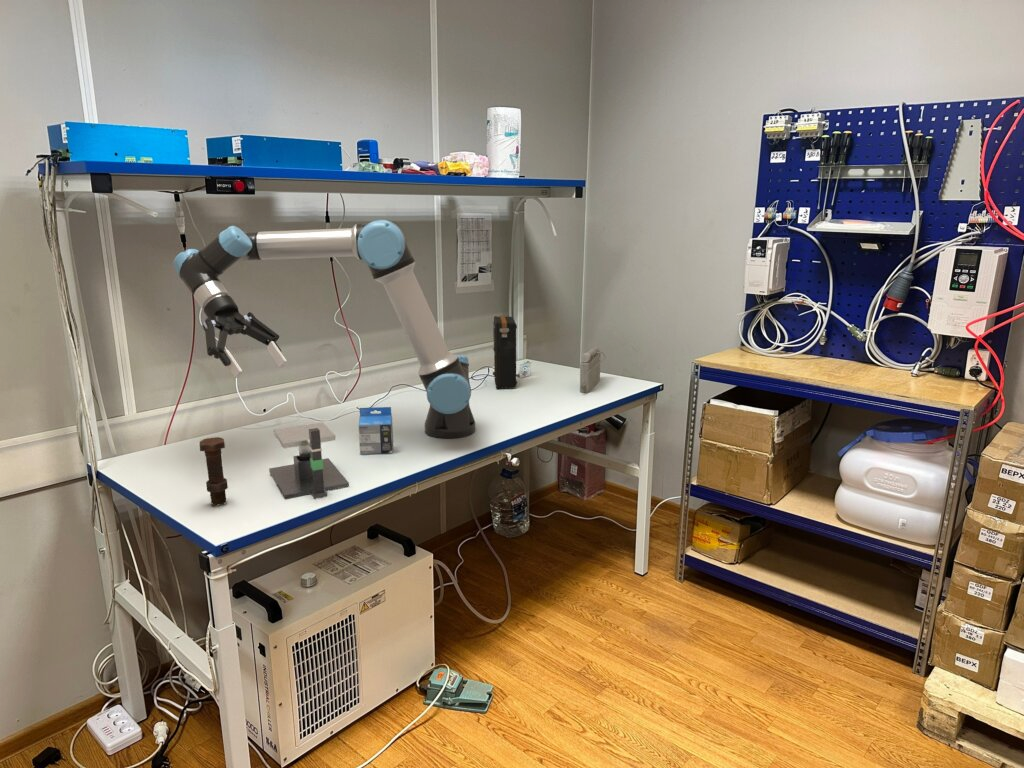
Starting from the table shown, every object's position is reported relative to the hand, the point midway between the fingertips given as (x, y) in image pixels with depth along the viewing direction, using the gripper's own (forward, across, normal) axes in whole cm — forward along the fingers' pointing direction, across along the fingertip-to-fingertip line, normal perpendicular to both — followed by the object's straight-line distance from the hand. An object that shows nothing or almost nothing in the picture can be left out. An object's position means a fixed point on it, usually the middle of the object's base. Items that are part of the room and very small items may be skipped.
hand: (261, 369), depth 171 cm
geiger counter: (+44, -114, +10) cm, 123 cm away
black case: (+24, -103, -11) cm, 106 cm away
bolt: (+24, +20, -14) cm, 34 cm away
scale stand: (+29, +1, -7) cm, 30 cm away
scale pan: (+25, +1, -4) cm, 26 cm away
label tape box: (+29, -23, -7) cm, 38 cm away
